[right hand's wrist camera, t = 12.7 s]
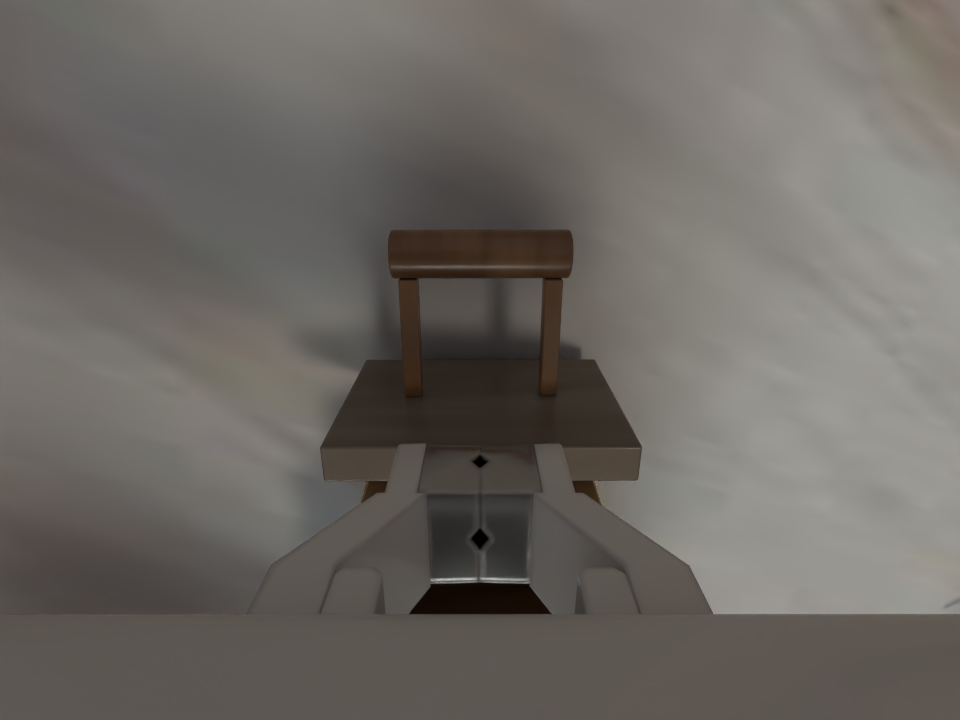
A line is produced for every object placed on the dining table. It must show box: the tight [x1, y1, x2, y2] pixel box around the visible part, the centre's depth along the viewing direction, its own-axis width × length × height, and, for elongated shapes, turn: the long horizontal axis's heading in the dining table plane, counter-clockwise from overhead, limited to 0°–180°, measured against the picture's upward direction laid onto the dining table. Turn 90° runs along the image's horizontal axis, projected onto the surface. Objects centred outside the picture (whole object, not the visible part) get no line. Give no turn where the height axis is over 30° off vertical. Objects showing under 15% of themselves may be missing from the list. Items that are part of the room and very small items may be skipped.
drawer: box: [320, 230, 642, 614], centre depth 20 cm, size 17×9×7 cm, turn 0°
